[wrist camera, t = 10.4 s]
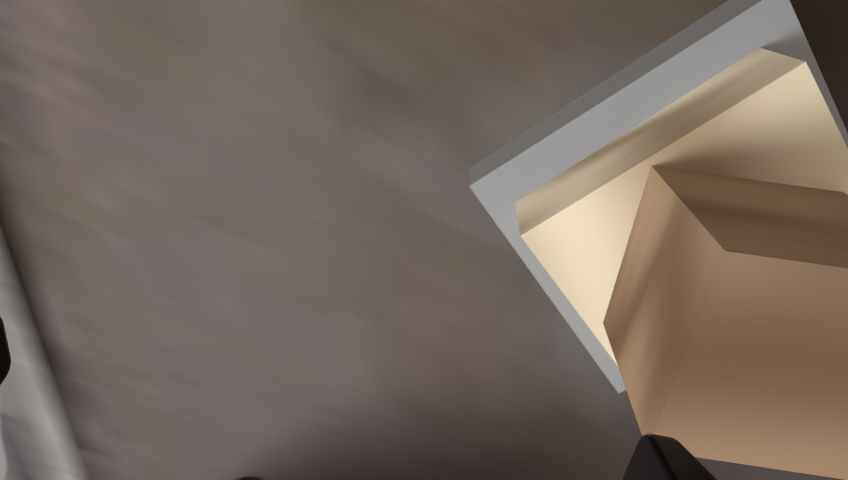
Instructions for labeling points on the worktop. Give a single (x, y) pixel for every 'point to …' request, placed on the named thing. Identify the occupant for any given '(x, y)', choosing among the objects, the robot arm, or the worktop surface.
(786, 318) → the walnut cube
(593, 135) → the grey base block
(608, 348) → the birch top block
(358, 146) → the worktop surface
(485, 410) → the worktop surface
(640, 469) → the robot arm
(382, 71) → the worktop surface
